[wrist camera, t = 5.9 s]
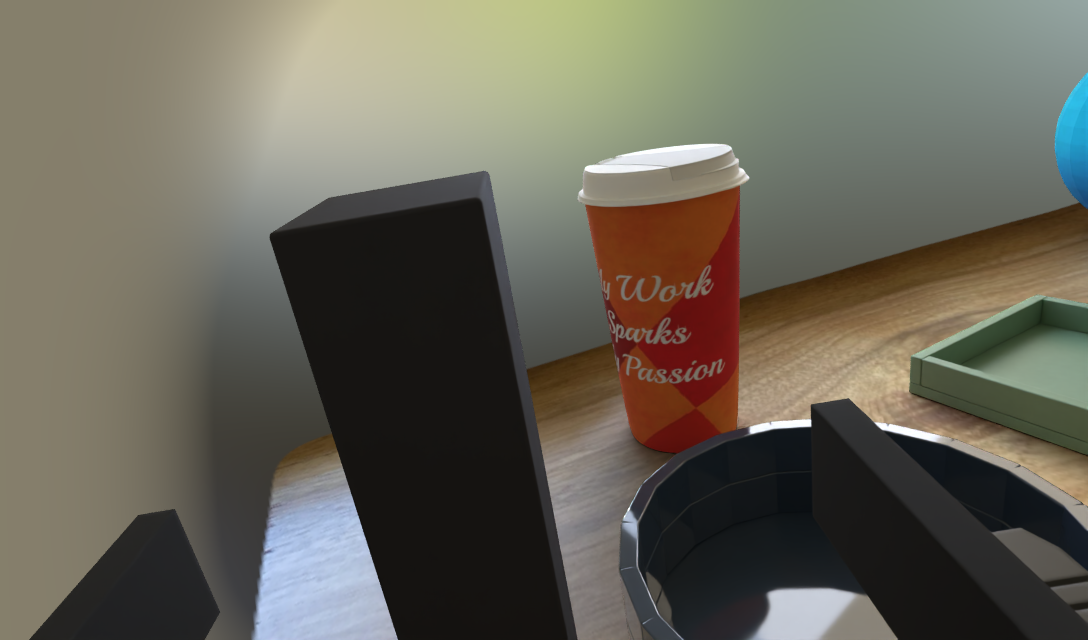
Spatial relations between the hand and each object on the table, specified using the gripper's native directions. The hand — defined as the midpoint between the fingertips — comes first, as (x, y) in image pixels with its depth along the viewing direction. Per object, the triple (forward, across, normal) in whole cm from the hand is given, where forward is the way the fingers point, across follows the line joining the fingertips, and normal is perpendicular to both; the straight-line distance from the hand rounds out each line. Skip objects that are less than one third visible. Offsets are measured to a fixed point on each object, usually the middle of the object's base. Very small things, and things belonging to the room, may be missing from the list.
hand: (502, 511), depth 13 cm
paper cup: (+18, +8, -10) cm, 22 cm away
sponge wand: (-3, 0, -10) cm, 10 cm away
